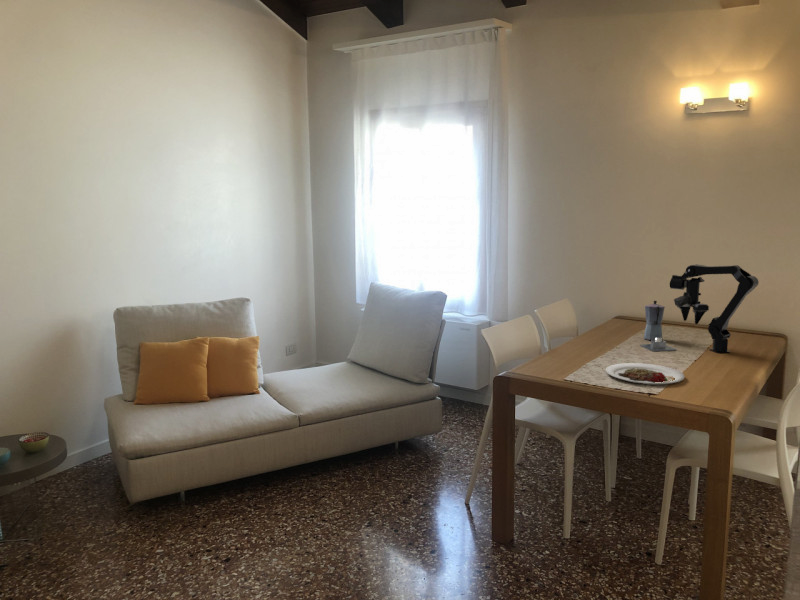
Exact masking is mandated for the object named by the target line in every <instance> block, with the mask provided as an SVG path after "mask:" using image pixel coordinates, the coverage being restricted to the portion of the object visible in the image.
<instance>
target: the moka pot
mask: <svg viewBox="0 0 800 600" xmlns="http://www.w3.org/2000/svg"><path fill="white" fill-rule="evenodd" d="M657 302H658V301H657V300H653V303H651V304H646V305H644V311H645V321H646V324H645V329H644V335H643V339H645V340H649V341H651V340H653V339H655V338H656V337H660V338H662V339H663V330H662V321H663V318H664V314H665V313H664V312H665V306H663V305H661V304H657Z"/></svg>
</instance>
